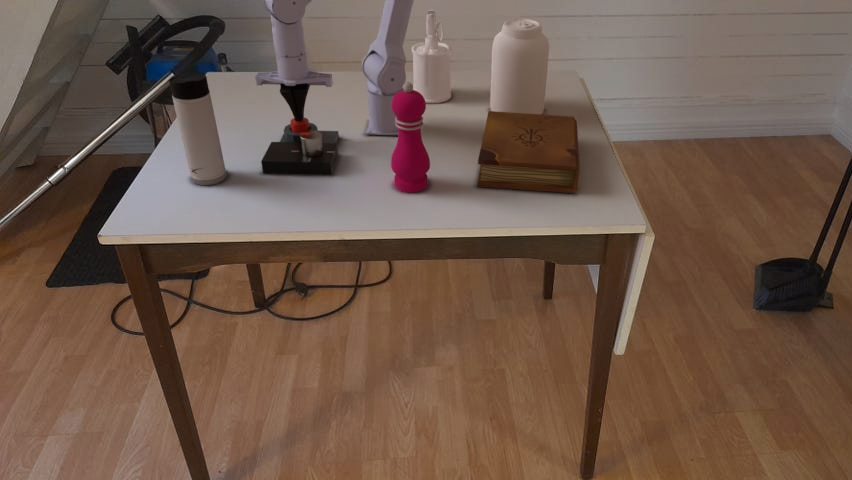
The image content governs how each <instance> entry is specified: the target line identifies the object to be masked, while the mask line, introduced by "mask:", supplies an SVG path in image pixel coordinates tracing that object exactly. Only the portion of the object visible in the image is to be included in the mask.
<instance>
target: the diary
mask: <svg viewBox="0 0 852 480" xmlns="http://www.w3.org/2000/svg"><path fill="white" fill-rule="evenodd" d="M578 133H579V132H578V120H577V119H576V118H575V116H571V115H570V116H569V115H555V114H525V113H510V112H495V111H492V110H488V111H487V117H486V121H485V125H484V131H483V135H482V139H481V145H480V149H479V153H478V159H477V164H478V165H480V168H479V173H478V177H477V181H476V183H477V184H476V186H477V187H481V188H494V189H495V188H496V189H508V190H522V191H523V190H524V191H535V192H537V191H538V192H550V193H551V192H552V193H564V194H565V193H566V194H574V193H575V192H576V191H577V190H578V186H579V180H580V179H579V178H580V156H579V155H580V154H579V136H578V135H579V134H578Z"/></svg>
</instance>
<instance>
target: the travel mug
mask: <svg viewBox="0 0 852 480" xmlns="http://www.w3.org/2000/svg"><path fill="white" fill-rule="evenodd" d="M168 83H169V87H170V91H171V97H172V102H173V107H174V110H175V114H176V119H177V123H178V127H179V132H180V136H181V141H182V144H183V150H184V153H185V158H186V162H187V165H188V170H189V175H190V178H191V181H192V182H193V183H194V184H196V185H200V186H212V185H216V184H219V183H221V182H222V181H224V180H225V179H226V177H227V171H226V165H225V161H224V156H223V155H224V154H223V151H222V150H223V149H222V146H221V140H220V136H219V131H218V125H217V120H216V115H215V111H214V106H213V101H212V96H211V92H210V91H211V90H210V87H209V83H208V78H207V75H206V74H202V73H190V74H188V75H180V74H179V75H176V76H175V75H174V76H172V77H170V78H169V79H168Z"/></svg>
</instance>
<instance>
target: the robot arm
mask: <svg viewBox="0 0 852 480" xmlns="http://www.w3.org/2000/svg"><path fill="white" fill-rule="evenodd" d="M311 2H313V0H263V4H264V6H265V7H264V8H265V9H266V10H267V11H268V12H269V13H270V23H271V33H272V41H273V48H274V53H275V61H276V68H277V70H275V71H273V70H272V71H261V72H259V71H258V72H257V73H256V74H255V75H254V79H255V84H256V86H263V85H276V86H277V85H280V87H279V94H280V95H281V97H283V99H284V101H285V102H286V104H287V105H288V107H289V109H290V111H291V114H292V115H293V118H295V121H302V120H303V118H305V106H306V100H307V97H308V93H309V90H310V87H311V86H324V87H326V88H331V87H332V86H333V84H334V80H333V73H323V72H318V71H311V70H309V66H308V65H309V64H308V57H307V50H306V48H307V47H306V41H305V31H304V26H303V20H302V19H303V17H304V15H305V13H306V8H307V6H308V5H309V4H310V3H311ZM413 4H414V0H384V4H383V5H384V6H383V9H382V15H381V18H380V22H379V28H378V32H377V37H376V38H375V39H374V40H373V41H372V42H371V44H370V45H369V50H368V52H367V53H366V55H365V56H364V57H363V59H362V61H361V71H362V73H363V75H364V76H365V77H366V79H367V83H366V84H367V85H366V92H367V93H366V94H367V106H368V108H367V109H368V124H367V127H366V130H365V134H366V135H367V136H398V128H397V127H396V125H395V122H396V121H395V117H396V115H395V114H394V113H393V111H392V99H393V97H394V96H395V95H396V94H397V93H398V92H400V91H402V90H403V85H404V84H405V83H406V82H407V74H406V63H407V59H406V54H405V50H404V43H405V38H406V34H407V30H408V25H409V22H410V18H411V13H412V9H413Z"/></svg>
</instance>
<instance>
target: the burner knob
mask: <svg viewBox="0 0 852 480" xmlns="http://www.w3.org/2000/svg"><path fill="white" fill-rule="evenodd" d="M318 131H319V130H318ZM318 131H306V132H303V133H300V138H301V146H302V153H303V154H304V155H305V156H311V157H313V156H318V155H321V154H322V153H323V143H322V134H321V133H320V132H318Z"/></svg>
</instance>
